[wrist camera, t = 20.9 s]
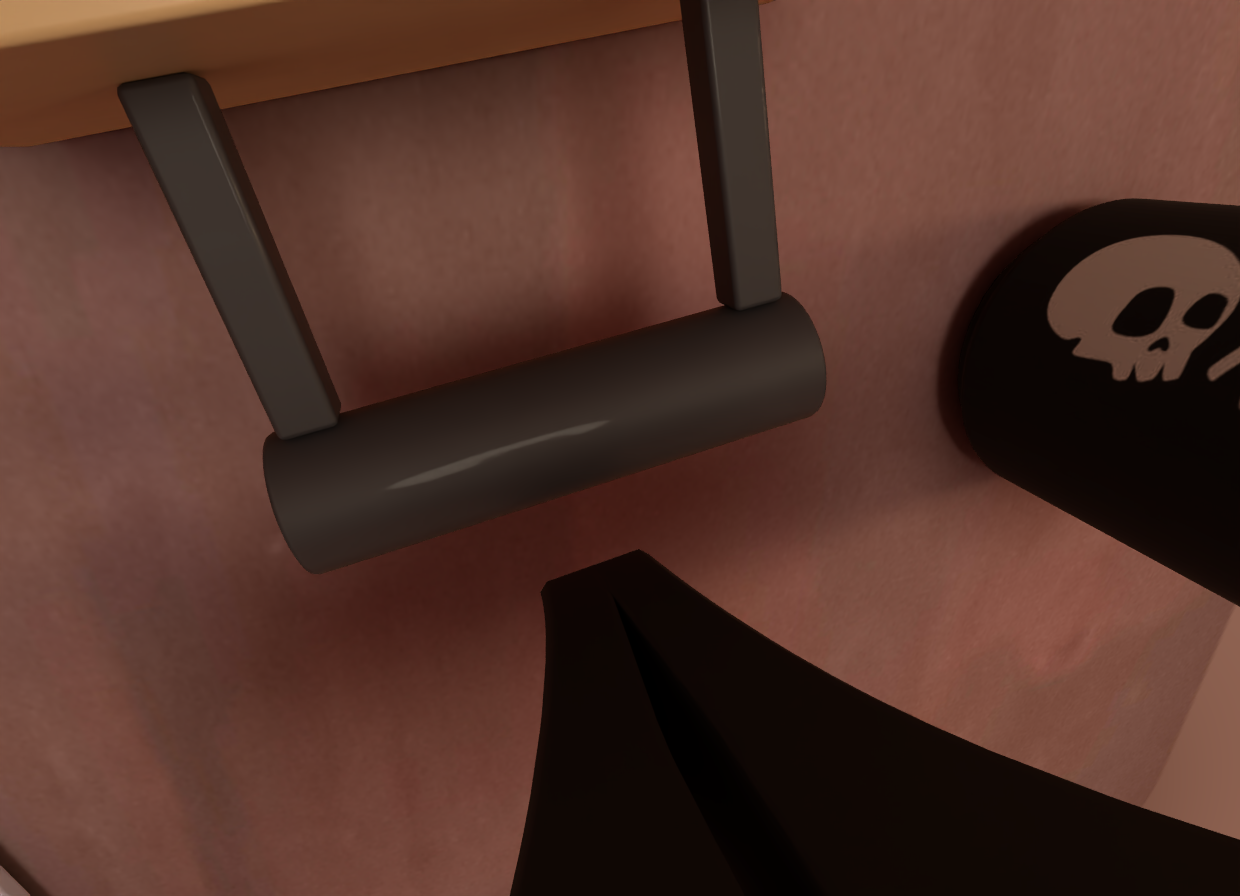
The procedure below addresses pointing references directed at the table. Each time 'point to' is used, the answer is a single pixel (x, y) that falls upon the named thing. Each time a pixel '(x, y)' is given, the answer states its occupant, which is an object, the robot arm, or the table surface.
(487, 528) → the table surface
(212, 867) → the table surface
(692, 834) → the robot arm
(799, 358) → the drawer
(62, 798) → the table surface
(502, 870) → the table surface
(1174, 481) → the beverage can
